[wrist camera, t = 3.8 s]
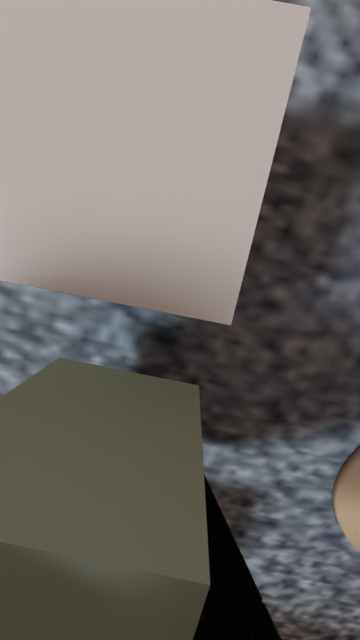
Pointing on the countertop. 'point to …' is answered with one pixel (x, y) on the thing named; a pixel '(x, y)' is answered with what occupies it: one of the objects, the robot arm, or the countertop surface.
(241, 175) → the offwhite block
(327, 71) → the countertop surface
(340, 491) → the coaster
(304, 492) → the countertop surface
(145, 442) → the sage block
